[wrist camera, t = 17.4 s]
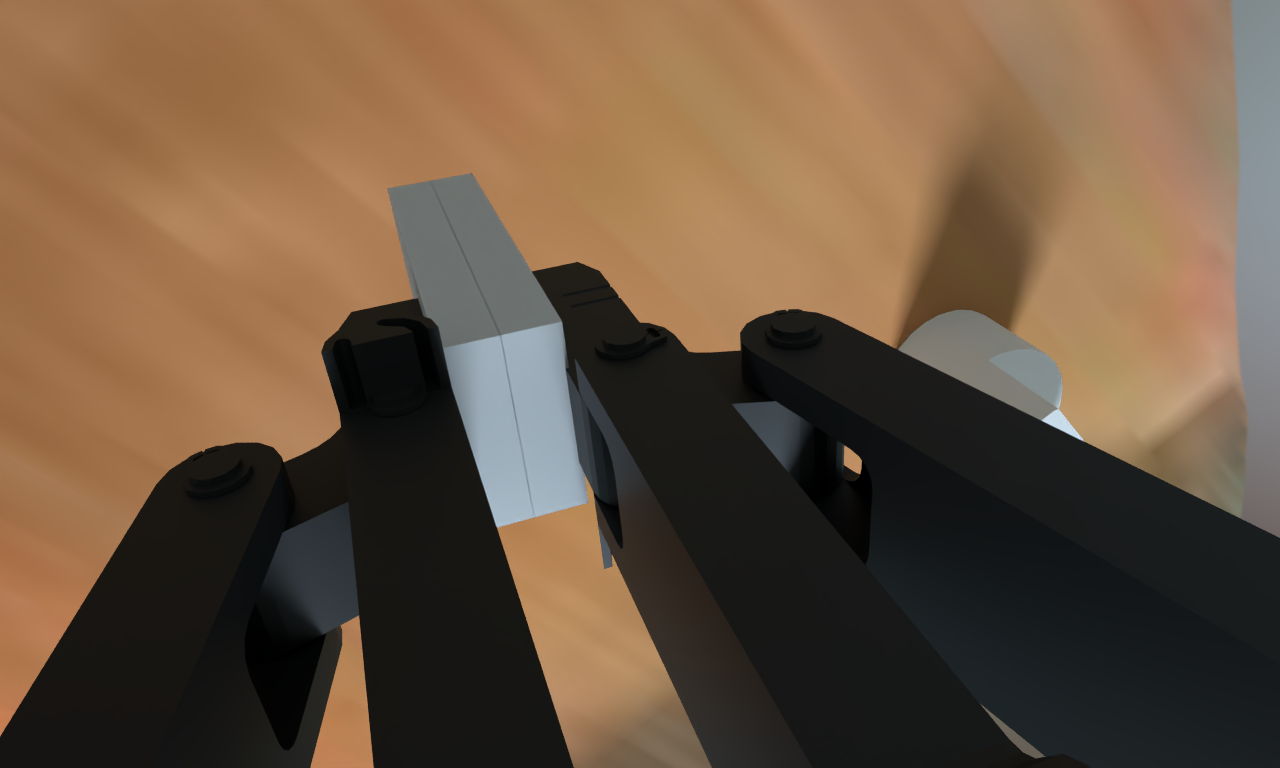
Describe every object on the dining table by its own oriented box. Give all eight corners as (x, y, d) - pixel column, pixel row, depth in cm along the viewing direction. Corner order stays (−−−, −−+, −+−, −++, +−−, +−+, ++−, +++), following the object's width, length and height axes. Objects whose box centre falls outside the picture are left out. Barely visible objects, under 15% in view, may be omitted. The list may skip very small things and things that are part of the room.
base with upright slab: (861, 383, 60) (974, 483, 50) (961, 283, 59) (1097, 366, 49) (928, 450, 65) (1042, 554, 55) (1022, 359, 64) (1157, 448, 54)
